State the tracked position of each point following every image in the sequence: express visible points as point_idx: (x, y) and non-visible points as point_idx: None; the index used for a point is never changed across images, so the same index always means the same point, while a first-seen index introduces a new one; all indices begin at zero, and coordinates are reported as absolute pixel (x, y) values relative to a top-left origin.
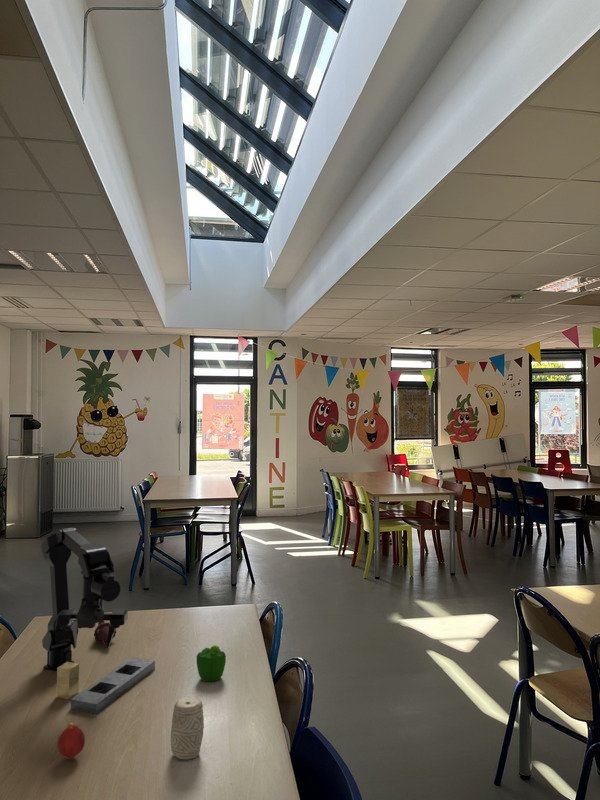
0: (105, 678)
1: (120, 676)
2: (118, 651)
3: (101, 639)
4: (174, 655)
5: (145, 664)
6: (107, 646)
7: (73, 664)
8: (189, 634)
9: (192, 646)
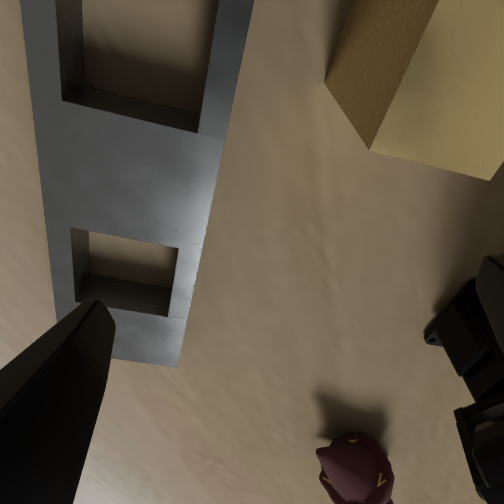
0: (190, 178)
1: (118, 208)
2: (281, 405)
3: (358, 447)
4: None
5: None
6: (85, 308)
7: (421, 130)
8: (115, 478)
9: None
